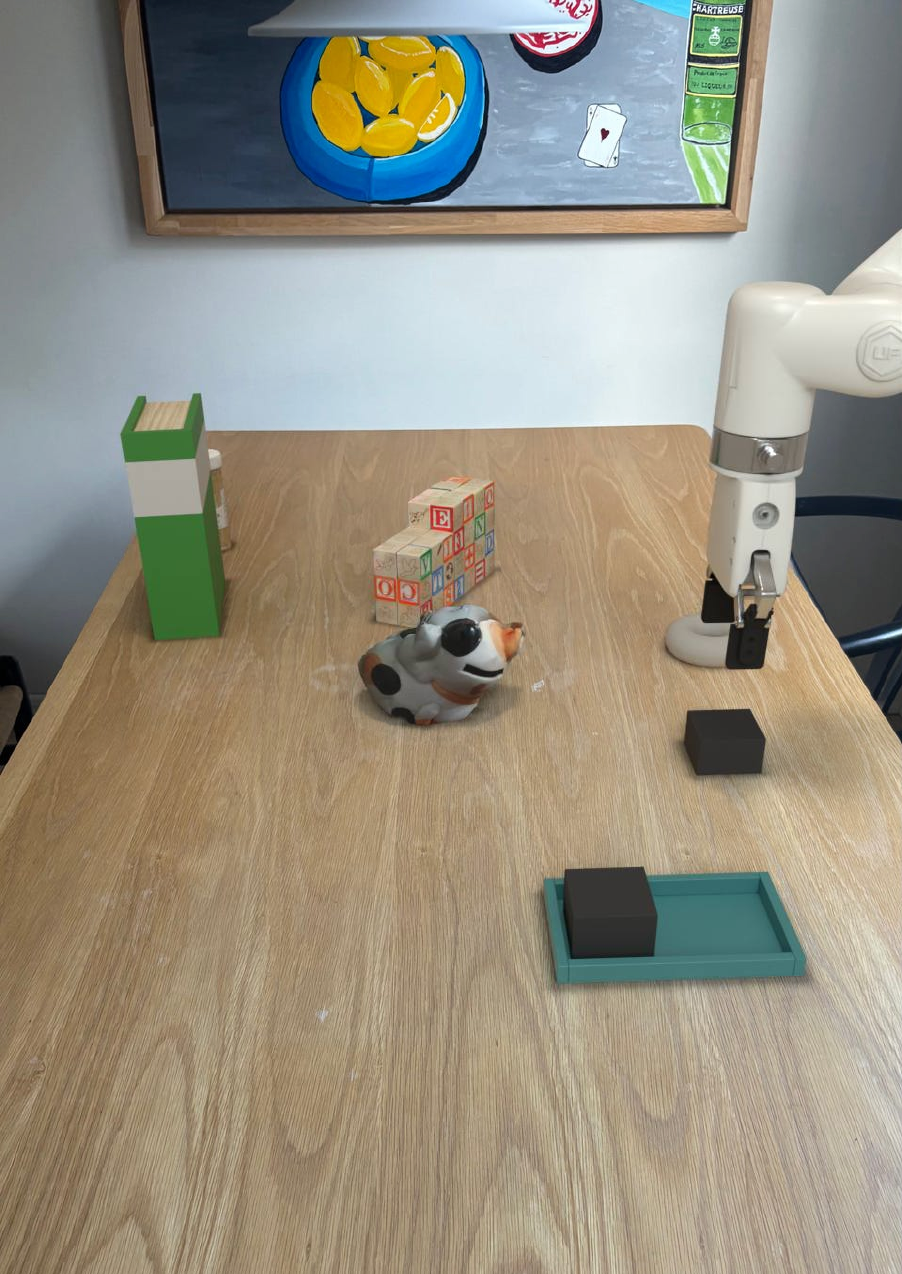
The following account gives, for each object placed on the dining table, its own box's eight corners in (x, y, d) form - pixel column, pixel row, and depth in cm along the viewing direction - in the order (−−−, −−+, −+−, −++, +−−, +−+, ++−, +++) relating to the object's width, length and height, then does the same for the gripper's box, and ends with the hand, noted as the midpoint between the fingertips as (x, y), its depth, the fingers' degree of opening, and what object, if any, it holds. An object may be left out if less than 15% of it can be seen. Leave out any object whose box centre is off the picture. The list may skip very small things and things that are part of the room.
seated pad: (640, 908, 89) (643, 866, 87) (653, 958, 84) (658, 914, 81) (562, 910, 89) (564, 868, 87) (571, 961, 84) (573, 917, 81)
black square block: (745, 745, 111) (750, 708, 109) (760, 776, 106) (766, 738, 104) (683, 746, 111) (687, 710, 109) (696, 778, 106) (700, 740, 104)
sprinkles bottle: (197, 555, 159) (183, 457, 152) (201, 544, 163) (187, 448, 156) (230, 553, 160) (218, 456, 152) (233, 542, 163) (221, 447, 156)
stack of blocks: (421, 632, 136) (417, 530, 129) (375, 624, 138) (369, 523, 131) (495, 571, 152) (495, 478, 145) (452, 565, 154) (450, 473, 148)
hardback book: (167, 587, 149) (137, 396, 137) (225, 583, 150) (200, 393, 137) (155, 642, 134) (120, 434, 122) (219, 638, 135) (191, 430, 122)
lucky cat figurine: (453, 661, 128) (511, 565, 119) (499, 741, 122) (564, 646, 113) (337, 657, 119) (390, 553, 110) (380, 743, 113) (440, 640, 105)
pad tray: (764, 892, 91) (768, 871, 90) (802, 981, 82) (806, 958, 81) (542, 899, 91) (543, 878, 90) (556, 989, 82) (557, 966, 81)
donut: (743, 680, 123) (762, 642, 131) (747, 650, 122) (766, 614, 129) (653, 665, 127) (676, 629, 135) (655, 636, 125) (679, 601, 133)
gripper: (836, 481, 86) (799, 687, 95) (775, 422, 100) (748, 605, 110) (736, 482, 86) (709, 688, 95) (689, 423, 100) (670, 606, 109)
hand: (730, 644), depth 102 cm, fingers open, 9 cm apart
